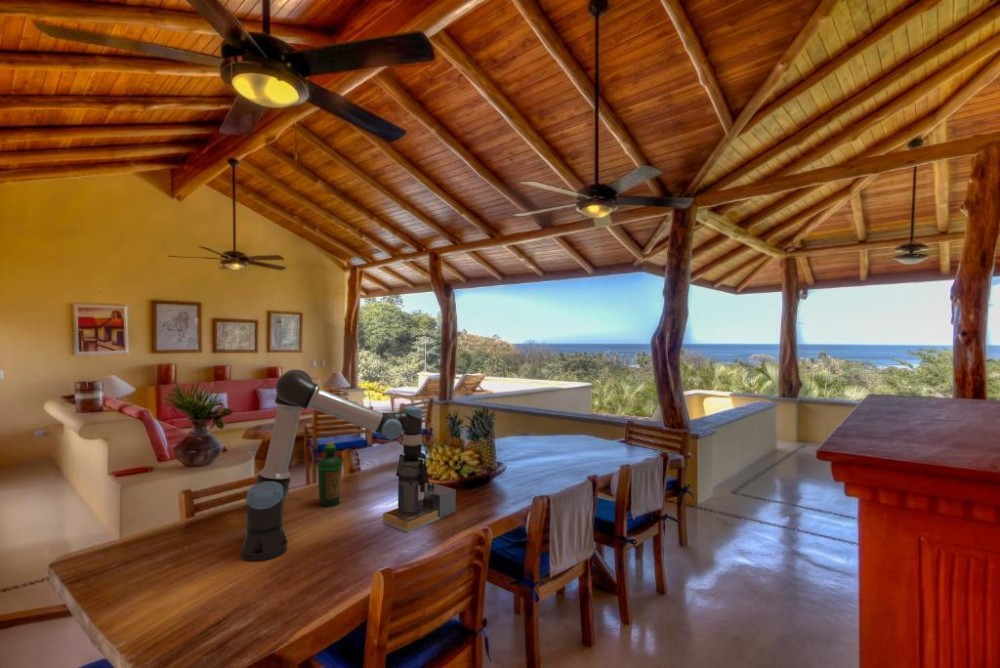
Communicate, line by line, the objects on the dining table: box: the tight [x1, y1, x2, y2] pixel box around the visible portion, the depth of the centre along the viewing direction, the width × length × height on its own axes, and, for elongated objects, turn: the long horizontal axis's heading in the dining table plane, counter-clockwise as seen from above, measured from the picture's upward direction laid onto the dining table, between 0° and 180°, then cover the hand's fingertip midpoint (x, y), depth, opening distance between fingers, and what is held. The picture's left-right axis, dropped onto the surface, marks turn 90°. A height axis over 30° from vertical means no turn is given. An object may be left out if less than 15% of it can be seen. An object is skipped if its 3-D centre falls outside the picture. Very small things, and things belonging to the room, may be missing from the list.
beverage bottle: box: [397, 452, 427, 517], centre depth 201 cm, size 10×13×25 cm
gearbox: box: [382, 481, 457, 533], centre depth 205 cm, size 28×15×12 cm, turn 143°
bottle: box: [317, 441, 343, 507], centre depth 220 cm, size 11×11×28 cm
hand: (411, 496), depth 201 cm, fingers closed on beverage bottle, 10 cm apart
